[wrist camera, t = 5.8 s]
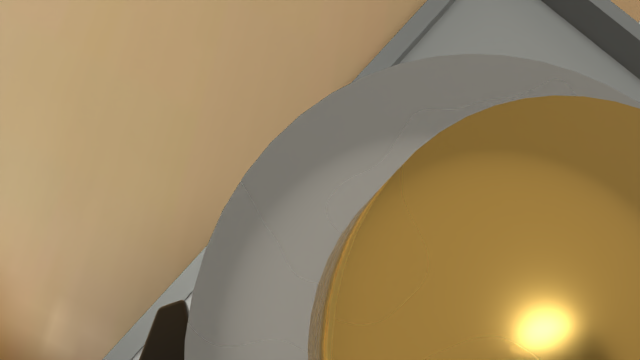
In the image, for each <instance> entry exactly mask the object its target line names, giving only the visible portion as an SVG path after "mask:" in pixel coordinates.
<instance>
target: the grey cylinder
mask: <svg viewBox="0 0 640 360" xmlns="http://www.w3.org/2000/svg"><path fill="white" fill-rule="evenodd" d="M184 360H640V103H639V102H637V101H635V100H633V99H631V98H630V97H628V96H626V95H624V94H622V93H621V92H619V91H617V90H615V89H614V88H612V87H610V86H608V85H606V84H603V83H601V82H599V81H596V80H594V79H592V78H589V77H587V76H584V75H582V74H580V73H577V72H575V71H572V70H568V69H565V68H561V67H558V66H555V65H551V64H548V63H544V62H541V61H536V60H530V59H524V58H518V57H512V56H506V55H487V54H459V55H447V56H435V57H429V58H425V59H420V60H415V61H411V62H406V63H401V64H397V65H395V66H392V67H389V68H386V69H383V70H381V71H378V72H375V73H372V74H369V75H367V76H364V77H362V78H360V79H358V80H356V81H354V82H352V83H350V84H348V85H346V86H345V87H343V88H341V89H339V90H337V91H335V92H333V93H331V94H330V95H328V96H327V97H325V98H324V99H323V100H321V101H320V102H318V103H317V104H315V105H314V106H313V107H311V108H310V109H308V110H307V111H305V112H304V113H303V114H301V115H300V116H299V117H298V118H297V119H296V120H294V121H293V122H292V123H291V124H290V125H289V126H288V127H287V128H286V129H285V130H284V131H283V132H282V133H280V134H279V135H278V136H277V137H276V138H275V139H274V140H273V141H272V142H271V143H270V144H269V145H268V147H267V148H266V149H265V150H264V152H263V153H262V154H261V155H260V156H259V158H258V159H257V160H256V161H255V163H254V164H253V165H252V166H251V167H250V169H249V170H248V171H247V172H246V174H245V175H244V177H243V178H242V180H241V182H240V183H239V185H238V186H237V188H236V190H235V191H234V193H233V195H232V196H231V198H230V199H229V201H228V203H227V204H226V206H225V208H224V209H223V211H222V214H221V216H220V218H219V220H218V223H217V225H216V227H215V229H214V232H213V234H212V236H211V238H210V240H209V243H208V245H207V247H206V249H205V253H204V256H203V259H202V263H201V266H200V270H199V273H198V276H197V280H196V283H195V286H194V290H193V293H192V299H191V305H190V312H189V318H188V324H187V330H186V336H185V351H184Z"/></svg>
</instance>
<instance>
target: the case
mask: <svg viewBox="0 0 640 360" xmlns="http://www.w3.org/2000/svg"><path fill="white" fill-rule="evenodd" d="M459 54H487V55H506V56H512V57H518V58H524V59H530V60H536V61H541V62H544V63H548V64H551V65H555V66H558V67H561V68H565V69H568V70H572V71H575V72H577V73H580V74H582V75H584V76H587V77H589V78H592V79H594V80H596V81H599V82H601V83H603V84H606V85H608V86H610V87H612V88H614V89H615V90H617V91H619V92H621V93H622V94H624V95H626V96H628V97H630V98H631V99H633V100H635V101H637V102H639V103H640V21H638V22H636V21H635V20H634V19H633V18H631V17H630V16H629V15H628V14H626V13H625V12H624V11H623V10H621V9H620V8H619V7H618V6H616V5H615V4H614V3H613V2H611V1H610V0H427V2H426V3H425V4H424V5H423V6H422V7H421V8H420V9H419V10H418V11H417V12H416V13H415V15H414V16H413V17H412V18H411V19H410V20H409V21H408V22H407V23H406V24H405V25H404V26H403V28H402V29H401V30H400V31H399V32H398V33H397V34H396V35H395V36H394V37H393V38H392V40H391V41H390V42H389V43H388V44H387V45H386V46H385V47H384V48H383V49H382V50H381V51H380V53H379V54H378V55H377V56H376V57H375V58H374V59H373V60H372V61H371V62H370V63H369V64H368V66H367V67H366V68H365V69H364V70H363V71H362V72H361V73H360V74H359V75H358V76H357V78H356V79H355V80H354V81H356V80H358V79H360V78H362V77H364V76H367V75H369V74H372V73H375V72H378V71H381V70H383V69H386V68H389V67H392V66H395V65H397V64H401V63H406V62H411V61H415V60H420V59H425V58H429V57H435V56H447V55H459ZM354 81H353V82H354Z"/></svg>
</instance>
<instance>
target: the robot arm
mask: <svg viewBox="0 0 640 360" xmlns="http://www.w3.org/2000/svg"><path fill="white" fill-rule="evenodd" d="M189 312H190V311H189V308H188V305H187V303H186V302H185V301H184V300H179V301H176V302H173V303H170V304H168V305H165V306H162V307H160V308H159V309H158V310H157V312H156V315H155V318H154V321H153V323H152V326H151V329H150V331H149V334H148V337H147V339H146V342H145V345H144V347H143V350H142V353H141V355H140V358H139V360H184V351H185V336H186V330H187V324H188V318H189Z"/></svg>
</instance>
